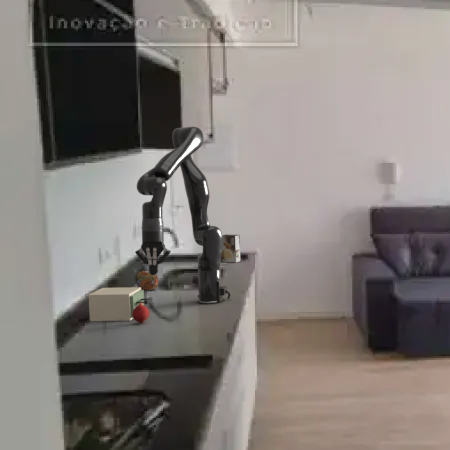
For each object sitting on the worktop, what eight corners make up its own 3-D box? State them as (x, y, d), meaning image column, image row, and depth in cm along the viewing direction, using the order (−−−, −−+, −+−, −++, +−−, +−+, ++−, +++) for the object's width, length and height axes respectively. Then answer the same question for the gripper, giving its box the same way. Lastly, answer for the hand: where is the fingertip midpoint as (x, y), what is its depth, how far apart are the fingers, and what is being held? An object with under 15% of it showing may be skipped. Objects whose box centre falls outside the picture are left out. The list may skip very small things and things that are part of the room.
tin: (135, 287, 299) (134, 270, 298) (141, 286, 302) (140, 269, 301) (153, 291, 291) (153, 273, 290) (160, 290, 293) (159, 272, 293)
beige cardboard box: (142, 312, 252) (141, 287, 251) (130, 320, 239) (129, 294, 238) (103, 313, 250) (102, 287, 249) (89, 321, 238) (88, 294, 237)
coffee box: (241, 261, 378) (240, 234, 376) (236, 262, 371) (235, 235, 370) (226, 260, 379) (226, 234, 377) (221, 262, 373) (220, 235, 371)
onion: (143, 326, 232) (142, 304, 231) (129, 325, 233) (128, 304, 232) (152, 322, 237) (152, 301, 237) (139, 321, 239) (138, 300, 238)
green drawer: (155, 310, 252) (154, 289, 251) (145, 317, 240) (144, 296, 239) (109, 311, 250) (108, 290, 249) (96, 318, 239) (95, 296, 238)
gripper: (173, 228, 241) (174, 273, 243) (138, 228, 240) (139, 273, 242) (167, 230, 234) (168, 276, 235) (130, 230, 233) (131, 276, 234)
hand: (153, 274), depth 239 cm, fingers closed
